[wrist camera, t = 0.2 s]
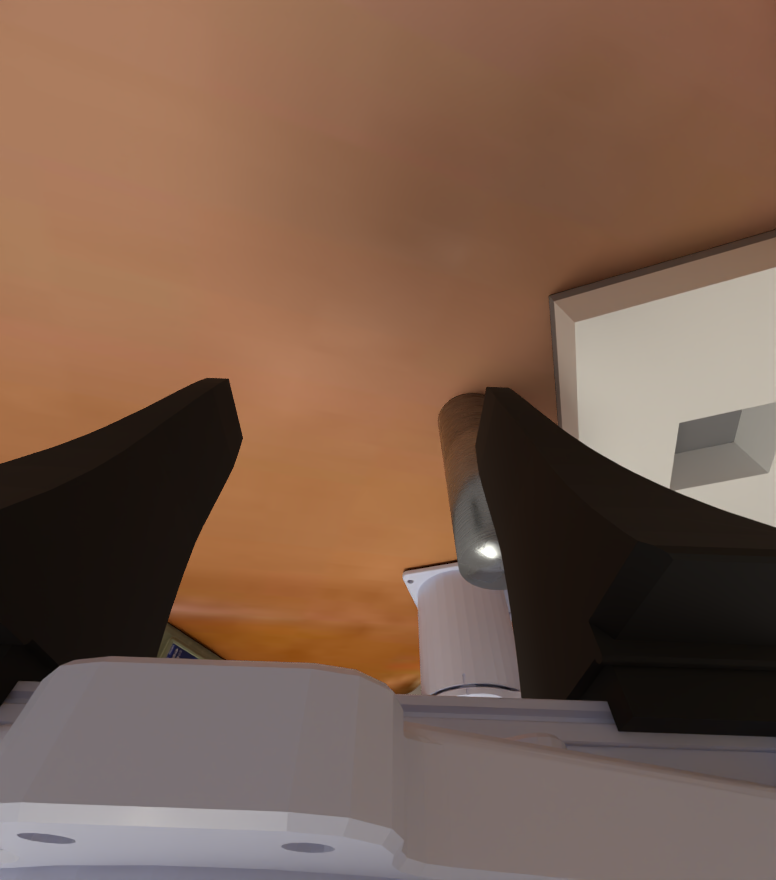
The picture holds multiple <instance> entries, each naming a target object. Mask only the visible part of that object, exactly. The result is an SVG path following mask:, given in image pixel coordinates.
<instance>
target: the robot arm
mask: <svg viewBox="0 0 776 880" xmlns="http://www.w3.org/2000/svg"><path fill="white" fill-rule="evenodd" d="M242 439H243V436H242V432H241V428H240V424H239V420H238V416H237V412H236V407H235V403H234V399H233V395H232V391H231V387H230V383H229V379H220V378H206V379H203V380H200V381H198V382H195V383H193V384H191V385H189V386H187V387H185V388H183V389H181V390H179V391H177V392H175V393H173V394H171V395H169V396H167V397H165V398H163V399H161V400H159V401H158V402H156V403H154V404H152V405H150V406H148V407H146V408H144V409H142V410H140V411H138V412H136V413H133V414H131V415H129V416H127V417H125V418H123V419H121V420H119V421H116V422H114V423H112V424H110V425H108V426H106V427H104V428H101V429H99V430H97V431H94V432H92V433H89V434H87V435H84V436H82V437H79V438H77V439H74V440H71V441H69V442H66V443H63V444H61V445H58V446H55V447H52V448H49V449H46V450H43V451H40V452H37V453H33V454H30V455H27V456H24V457H21V458H18V459H15V460H11V461H8V462H5V463H2V464H0V880H776V527H773V526H770V525H767V524H764V523H761V522H758V521H755V520H752V519H749V518H746V517H743V516H740V515H737V514H734V513H730V512H727V511H725V510H722V509H719V508H716V507H714V506H711V505H709V504H706V503H703V502H701V501H698V500H696V499H693V498H690V497H688V496H685V495H683V494H681V493H678V492H676V491H673V490H671V489H669V488H666V487H664V486H662V485H660V484H658V483H655V482H653V481H651V480H649V479H647V478H645V477H643V476H641V475H638V474H636V473H634V472H632V471H630V470H628V469H627V468H625V467H623V466H621V465H619V464H617V463H615V462H614V461H612V460H610V459H608V458H607V457H605V456H603V455H601V454H600V453H598V452H596V451H595V450H593V449H591V448H590V447H588V446H587V445H585V444H584V443H582V442H581V441H579V440H578V439H576V438H575V437H573V436H572V435H570V434H569V433H567V432H566V431H565V430H563V429H562V428H560V427H559V426H558V425H556V424H555V423H554V422H552V421H551V420H550V419H548V418H547V417H546V416H545V415H543V414H542V413H541V412H540V411H538V410H537V409H536V408H534V407H533V406H532V405H531V404H530V403H528V402H527V401H526V400H525V399H523V398H522V397H521V396H519V395H518V394H517V393H515V392H514V391H513V390H511V389H510V388H498V387H487V388H486V393H485V398H484V403H483V408H482V413H481V418H480V423H479V428H478V433H477V438H476V444H475V449H476V457H477V465H478V471H479V476H480V480H481V484H482V487H483V491H484V494H485V498H486V501H487V505H488V508H489V511H490V515H491V518H492V522H493V525H494V528H495V532H496V535H497V539H498V543H499V547H500V551H501V556H502V562H503V567H504V573H505V579H506V585H507V590H489V589H483V588H480V587H477V586H474V585H472V584H470V583H469V582H467V581H466V580H465V579H464V578H463V577H462V576H461V574H460V572H459V567H458V562H456V563H450V564H444V565H438V566H433V567H427V568H421V569H415V570H409V571H405V572H404V573H403V580H404V582H405V584H406V586H407V588H408V590H409V592H410V594H411V596H412V598H413V600H414V602H415V604H416V606H417V608H418V624H419V648H420V671H421V695H409V694H394V692H393V691H392V690H391V689H390V688H389V687H388V686H387V685H386V684H385V683H383V682H381V681H379V680H377V679H375V678H372V677H370V676H368V675H366V674H364V673H362V672H360V671H358V670H355V669H348V668H342V667H335V666H329V665H322V664H316V663H294V662H265V661H236V660H207V659H178V658H157V655H158V651H159V648H160V645H161V641H162V638H163V635H164V632H165V628H166V625H167V622H168V618H169V615H170V612H171V609H172V606H173V603H174V600H175V597H176V594H177V591H178V588H179V585H180V583H181V580H182V577H183V574H184V571H185V569H186V566H187V563H188V561H189V558H190V555H191V553H192V550H193V547H194V545H195V542H196V540H197V538H198V536H199V534H200V532H201V529H202V527H203V525H204V524H205V522H206V520H207V518H208V516H209V514H210V512H211V510H212V508H213V506H214V504H215V502H216V500H217V499H218V497H219V495H220V493H221V491H222V489H223V487H224V485H225V483H226V481H227V479H228V477H229V475H230V473H231V471H232V469H233V467H234V464H235V461H236V458H237V456H238V452H239V449H240V446H241V443H242ZM511 621H512V624H513V628H512V624H511ZM513 632H514V633H513Z"/></svg>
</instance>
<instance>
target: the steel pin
mask: <svg viewBox="0 0 776 880" xmlns="http://www.w3.org/2000/svg"><path fill="white" fill-rule="evenodd" d="M484 398H485V396H484V395H481V394H474V393H470V394H463V395H460V396H457V397H455V398H453V399H451V400H450V401H449V402H447V403H446V404H445V405H444V407H443V408H442V409H441V411H440V413H439V417H438V427H439V434H440V441H441V448H442V455H443V462H444V469H445V476H446V483H447V490H448V497H449V504H450V511H451V518H452V525H453V532H454V539H455V546H456V553H457V560H458V567H459V572H460V574H461V576H462V577H463V578H464V579H465V580H466V581H467V582H469V583H470V584H472V585H474V586H477V587H480V588H483V589H489V590H507V585H506V579H505V573H504V567H503V562H502V556H501V551H500V547H499V543H498V539H497V535H496V532H495V528H494V525H493V522H492V518H491V515H490V511H489V508H488V505H487V501H486V498H485V494H484V491H483V487H482V484H481V480H480V476H479V471H478V465H477V457H476V449H475V444H476V438H477V433H478V428H479V423H480V418H481V413H482V408H483V403H484Z"/></svg>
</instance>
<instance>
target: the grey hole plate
mask: <svg viewBox="0 0 776 880" xmlns="http://www.w3.org/2000/svg"><path fill="white" fill-rule="evenodd" d="M549 306H550V320H551V334H552V347H553V361H554V375H555V389H556V402H557V416H558V426H559V427H560V428H562V429H563V430H565V431H566V432H567V433H569V434H570V435H572V436H573V437H575V438H576V439H578V440H579V441H581V442H582V443H584V444H585V445H587V446H588V447H590V448H591V449H593V450H595V451H596V452H598V453H600V454H601V455H603V456H605V457H607V458H608V459H610V460H612V461H614V462H615V463H617V464H619V465H621V466H623V467H625V468H627V469H628V470H630V471H632V472H634V473H636V474H638V475H641V476H643V477H645V478H647V479H649V480H651V481H653V482H655V483H658V484H660V485H662V486H664V487H666V488H669V489H671V490H673V491H676V492H678V493H681V494H683V495H685V496H688V497H690V498H693V499H696V500H698V501H701V502H703V503H706V504H709V505H711V506H714V507H716V508H719V509H722V510H725V511H727V512H730V513H734V514H737V515H740V516H743V517H746V518H749V519H752V520H755V521H758V522H761V523H764V524H767V525H770V526H773V527H776V230H773V231H769V232H766V233H763V234H759V235H756V236H752V237H749V238H746V239H742V240H739V241H735V242H732V243H728V244H725V245H722V246H718V247H715V248H711V249H708V250H704V251H701V252H698V253H694V254H691V255H687V256H684V257H680V258H677V259H674V260H670V261H667V262H663V263H660V264H656V265H653V266H650V267H646V268H643V269H639V270H636V271H632V272H629V273H626V274H622V275H619V276H615V277H612V278H608V279H605V280H602V281H598V282H595V283H591V284H588V285H584V286H581V287H578V288H574V289H571V290H567V291H564V292H560V293H557V294H554V295H550V296H549Z"/></svg>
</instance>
